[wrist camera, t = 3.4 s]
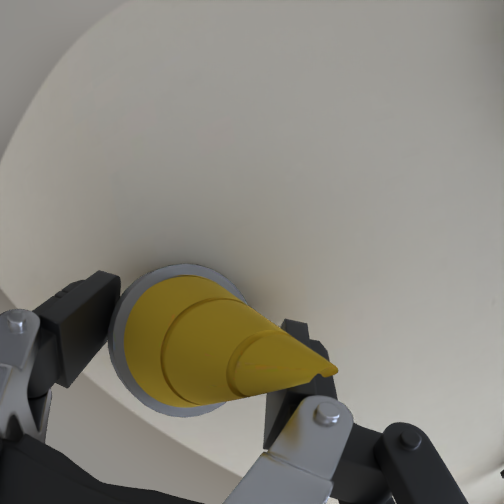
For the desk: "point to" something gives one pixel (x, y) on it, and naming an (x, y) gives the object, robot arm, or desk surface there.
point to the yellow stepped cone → (201, 344)
